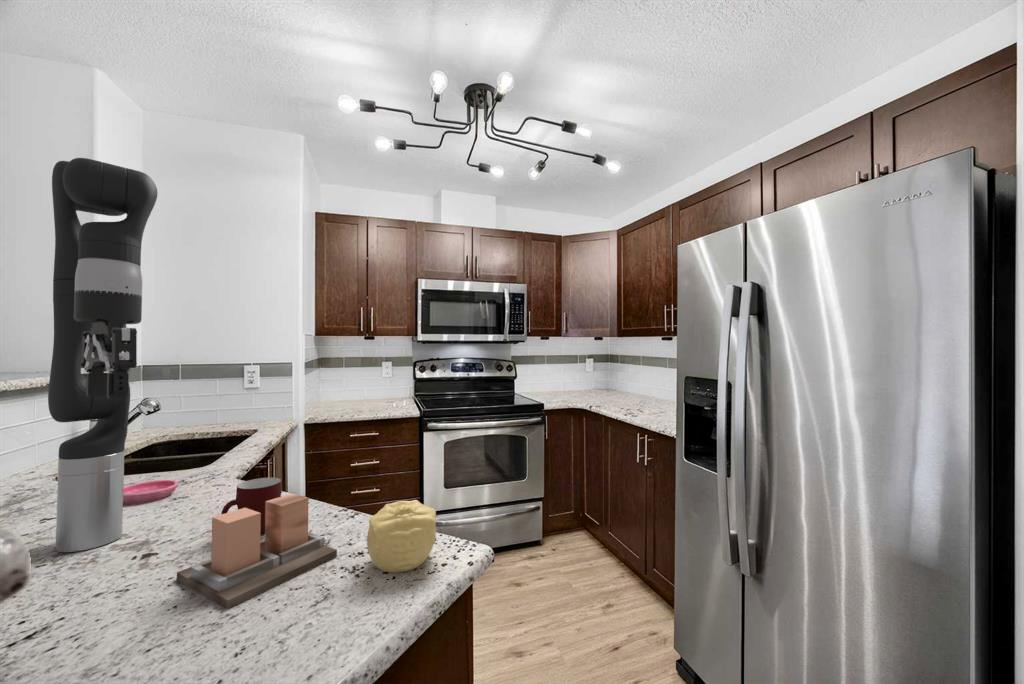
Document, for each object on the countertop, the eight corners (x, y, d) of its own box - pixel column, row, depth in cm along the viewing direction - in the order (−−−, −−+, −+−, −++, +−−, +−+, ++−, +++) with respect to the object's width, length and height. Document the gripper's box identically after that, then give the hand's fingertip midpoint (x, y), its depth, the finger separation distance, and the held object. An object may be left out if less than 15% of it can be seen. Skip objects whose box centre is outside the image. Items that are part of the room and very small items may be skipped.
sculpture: (370, 588, 65) (370, 517, 65) (364, 555, 76) (364, 495, 76) (442, 572, 69) (442, 506, 70) (427, 543, 80) (427, 486, 81)
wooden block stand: (176, 579, 67) (178, 516, 68) (284, 538, 83) (285, 486, 83) (227, 609, 59) (229, 536, 60) (336, 556, 75) (337, 499, 75)
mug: (229, 548, 79) (230, 494, 79) (215, 537, 84) (216, 487, 84) (287, 530, 87) (288, 481, 87) (271, 520, 92) (272, 475, 92)
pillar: (211, 573, 67) (212, 517, 67) (244, 560, 71) (245, 507, 72) (226, 582, 64) (227, 523, 65) (259, 568, 69) (260, 512, 69)
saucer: (189, 492, 113) (189, 480, 113) (139, 508, 101) (139, 495, 101) (154, 489, 116) (154, 478, 116) (101, 505, 104) (101, 492, 104)
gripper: (159, 291, 64) (157, 397, 63) (123, 298, 71) (120, 393, 71) (92, 284, 58) (89, 401, 57) (60, 293, 65) (56, 397, 64)
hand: (106, 397), depth 64 cm, fingers open, 8 cm apart
